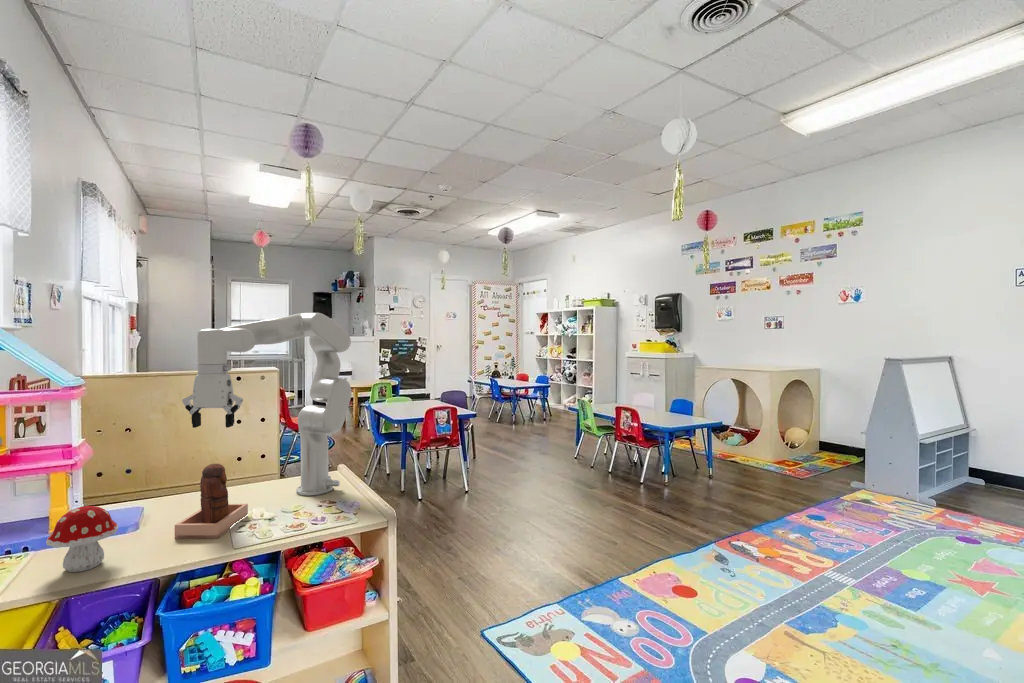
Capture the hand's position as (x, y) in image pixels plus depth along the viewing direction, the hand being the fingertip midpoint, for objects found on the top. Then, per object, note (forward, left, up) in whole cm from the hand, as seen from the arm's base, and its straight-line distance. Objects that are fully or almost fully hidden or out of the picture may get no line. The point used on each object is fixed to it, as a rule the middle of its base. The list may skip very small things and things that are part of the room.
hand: (213, 426), depth 148 cm
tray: (0, 0, -30) cm, 30 cm away
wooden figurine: (0, 0, -29) cm, 29 cm away
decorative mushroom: (+18, +25, -31) cm, 43 cm away
